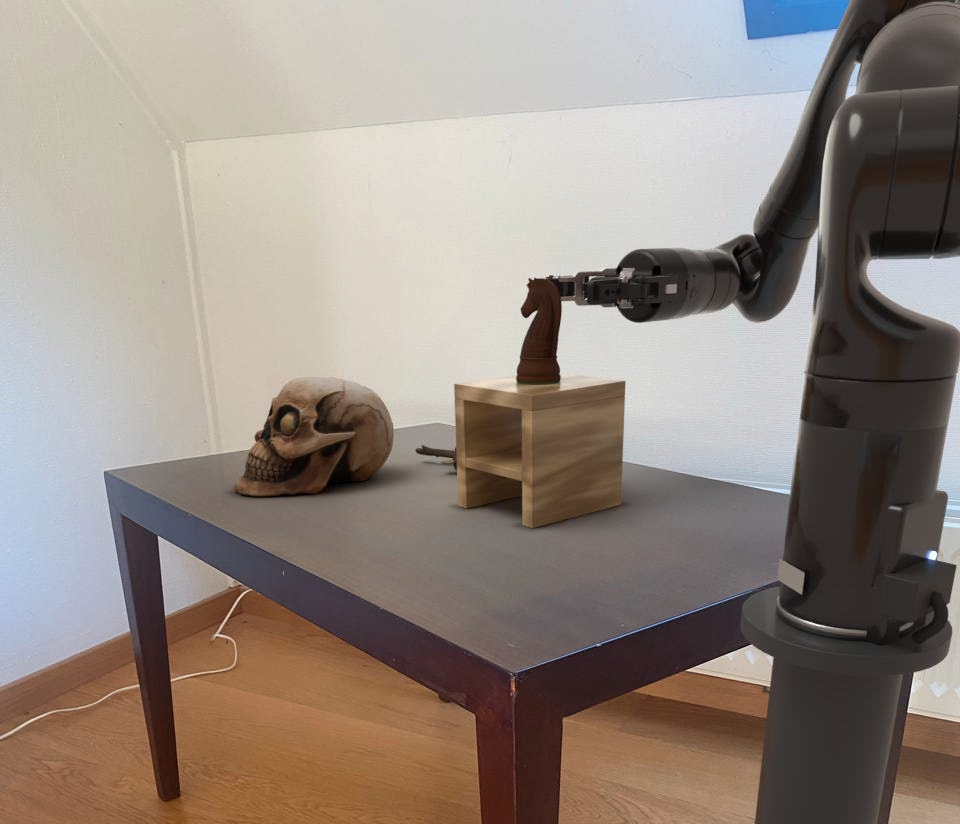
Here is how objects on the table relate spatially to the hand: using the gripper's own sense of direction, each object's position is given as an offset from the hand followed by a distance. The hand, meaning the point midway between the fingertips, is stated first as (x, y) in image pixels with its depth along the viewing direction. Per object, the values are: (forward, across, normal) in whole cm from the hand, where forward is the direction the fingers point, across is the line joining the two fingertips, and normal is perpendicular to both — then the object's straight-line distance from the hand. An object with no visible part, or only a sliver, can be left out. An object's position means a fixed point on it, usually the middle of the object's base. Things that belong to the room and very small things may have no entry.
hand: (559, 292), depth 92 cm
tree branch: (-6, -20, +22) cm, 30 cm away
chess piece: (+3, 0, +9) cm, 9 cm away
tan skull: (+15, -27, +22) cm, 38 cm away
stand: (+3, 0, +22) cm, 22 cm away
